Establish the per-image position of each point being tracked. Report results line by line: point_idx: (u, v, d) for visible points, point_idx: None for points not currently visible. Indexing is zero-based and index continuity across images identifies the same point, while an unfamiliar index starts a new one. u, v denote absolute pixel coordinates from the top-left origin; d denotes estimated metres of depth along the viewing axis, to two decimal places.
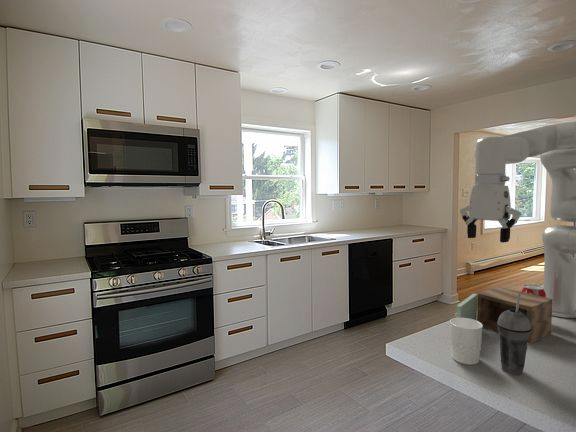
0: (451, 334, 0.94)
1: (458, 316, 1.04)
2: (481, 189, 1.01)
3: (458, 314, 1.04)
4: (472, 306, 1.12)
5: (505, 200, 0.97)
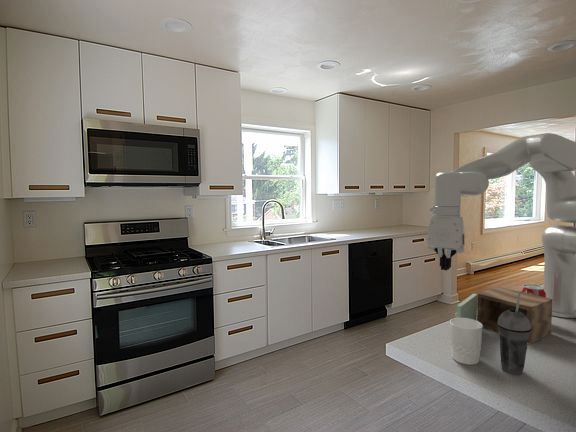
0: (451, 334, 0.94)
1: (458, 316, 1.04)
2: None
3: (458, 314, 1.04)
4: (472, 306, 1.12)
5: None
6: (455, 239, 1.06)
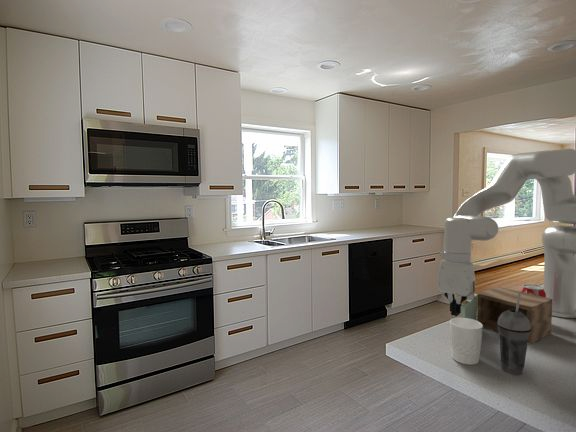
0: (451, 334, 0.94)
1: (462, 317, 1.03)
2: None
3: (462, 315, 1.03)
4: (473, 306, 1.11)
5: None
6: (465, 286, 1.05)
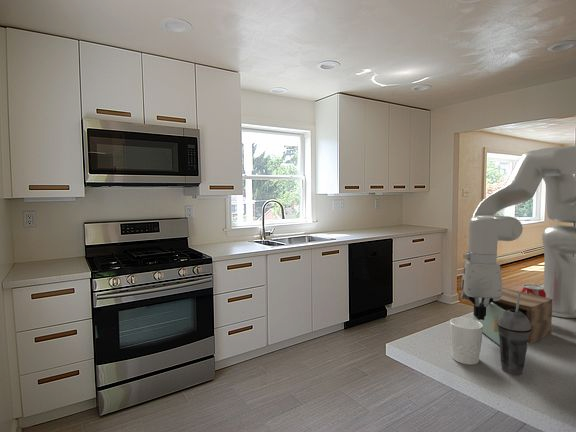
0: (451, 334, 0.94)
1: None
2: None
3: None
4: None
5: (463, 275, 1.07)
6: (498, 288, 1.02)
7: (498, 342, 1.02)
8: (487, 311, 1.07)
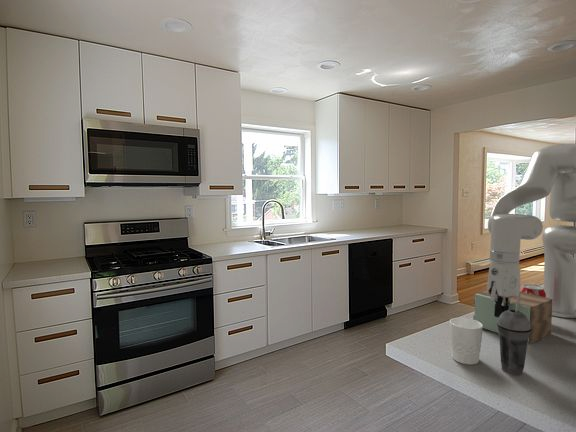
0: (451, 334, 0.94)
1: (529, 317, 1.02)
2: None
3: (529, 315, 1.02)
4: None
5: (492, 276, 1.03)
6: (519, 284, 1.04)
7: None
8: None
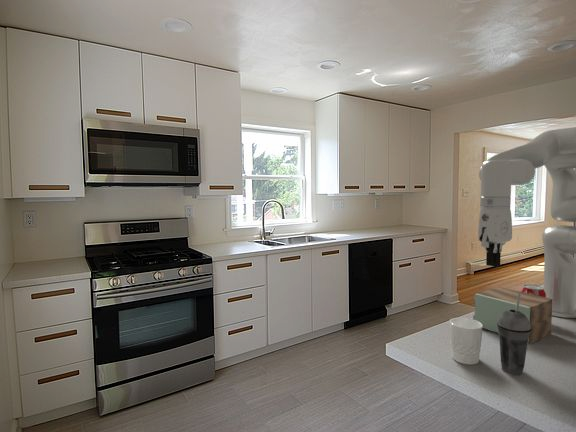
0: (451, 334, 0.94)
1: (529, 318, 1.02)
2: None
3: (529, 315, 1.02)
4: None
5: (483, 222, 1.00)
6: (510, 230, 1.02)
7: None
8: (501, 310, 1.08)
